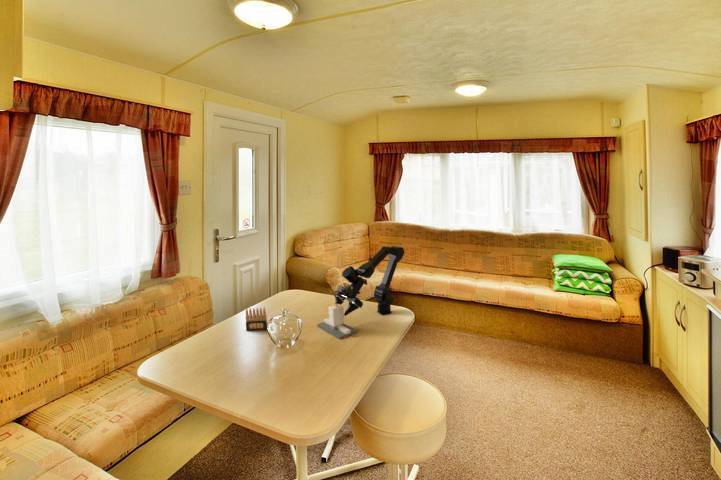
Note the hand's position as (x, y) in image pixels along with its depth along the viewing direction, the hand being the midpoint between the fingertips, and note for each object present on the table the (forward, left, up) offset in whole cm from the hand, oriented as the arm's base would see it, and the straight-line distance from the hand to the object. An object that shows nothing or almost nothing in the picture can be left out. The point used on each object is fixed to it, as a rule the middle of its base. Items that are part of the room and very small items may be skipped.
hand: (339, 312), depth 174 cm
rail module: (+2, 0, -7) cm, 7 cm away
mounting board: (+2, 0, -8) cm, 8 cm away
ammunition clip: (+37, -20, -9) cm, 44 cm away
